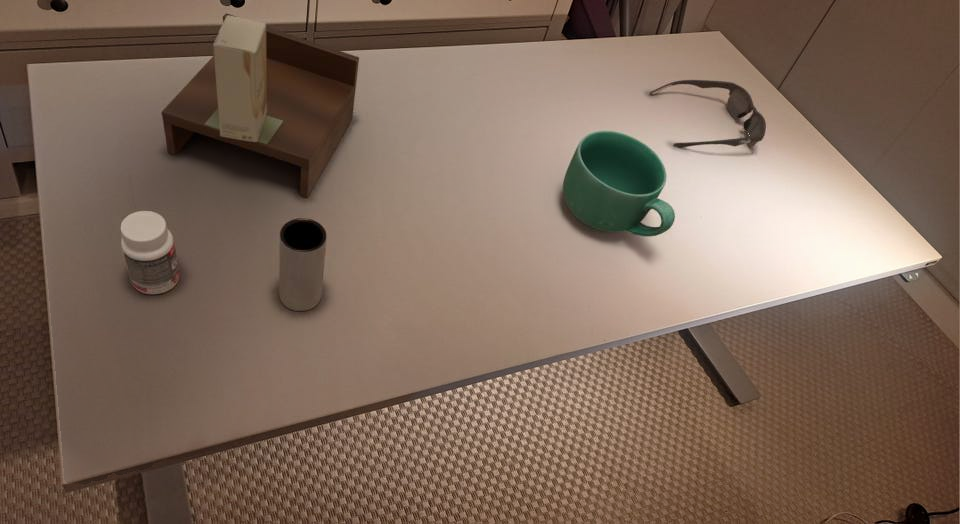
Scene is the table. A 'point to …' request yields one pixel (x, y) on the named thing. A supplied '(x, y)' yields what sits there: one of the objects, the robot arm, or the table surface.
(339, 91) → the shelf
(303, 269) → the grey cylindrical cup
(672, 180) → the table surface
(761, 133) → the sunglasses
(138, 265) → the pill bottle
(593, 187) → the mug
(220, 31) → the cosmetic box
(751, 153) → the table surface
